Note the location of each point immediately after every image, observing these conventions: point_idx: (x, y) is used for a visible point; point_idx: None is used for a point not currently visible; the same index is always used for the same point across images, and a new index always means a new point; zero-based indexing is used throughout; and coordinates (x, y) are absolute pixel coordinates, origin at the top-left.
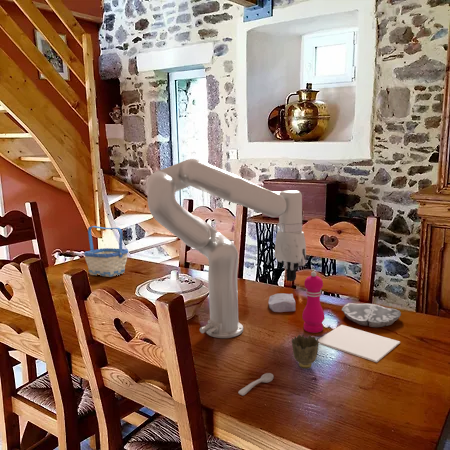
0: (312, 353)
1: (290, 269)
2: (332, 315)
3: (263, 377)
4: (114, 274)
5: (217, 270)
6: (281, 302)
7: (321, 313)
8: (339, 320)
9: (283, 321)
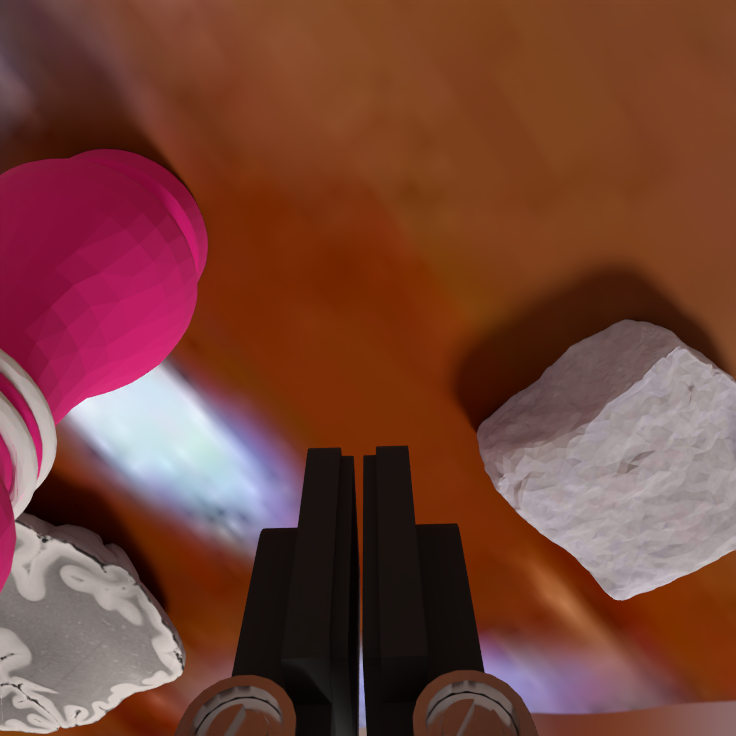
0: None
1: (331, 708)
2: (207, 517)
3: None
4: None
5: None
6: (596, 409)
7: None
8: (112, 480)
9: (429, 196)
